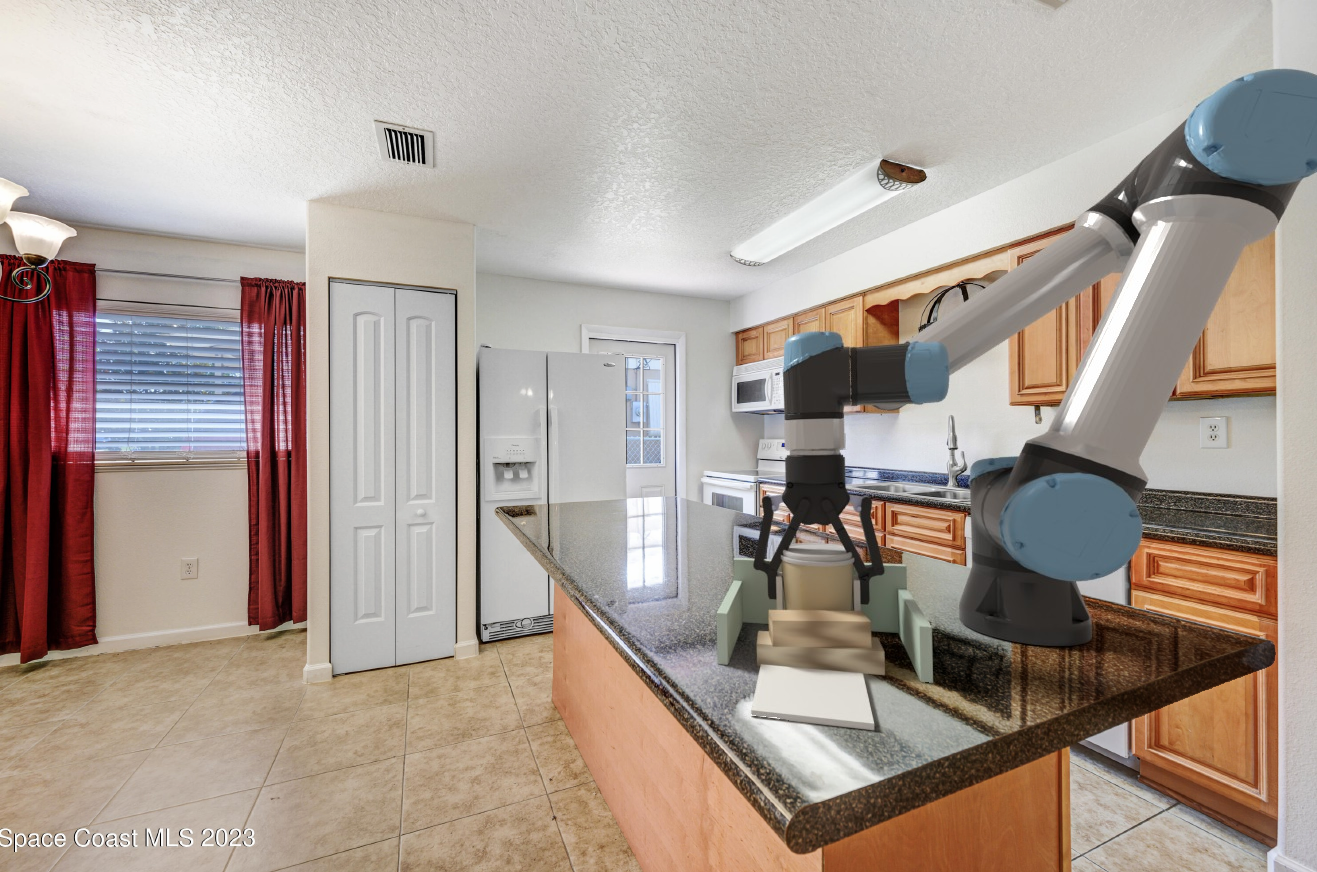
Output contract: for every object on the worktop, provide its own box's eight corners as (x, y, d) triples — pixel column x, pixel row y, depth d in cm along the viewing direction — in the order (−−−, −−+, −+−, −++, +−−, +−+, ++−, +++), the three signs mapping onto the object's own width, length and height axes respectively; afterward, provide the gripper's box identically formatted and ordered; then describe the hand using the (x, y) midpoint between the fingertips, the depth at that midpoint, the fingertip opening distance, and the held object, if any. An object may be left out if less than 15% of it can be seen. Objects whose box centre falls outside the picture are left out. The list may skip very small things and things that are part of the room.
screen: (906, 630, 75) (904, 564, 75) (933, 683, 59) (931, 598, 59) (735, 618, 81) (734, 557, 81) (717, 663, 65) (716, 587, 65)
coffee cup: (824, 625, 78) (823, 540, 78) (872, 648, 69) (870, 552, 69) (767, 634, 74) (766, 545, 74) (810, 660, 65) (808, 559, 66)
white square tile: (862, 678, 60) (862, 673, 60) (874, 730, 50) (874, 723, 50) (761, 669, 63) (760, 664, 63) (751, 716, 52) (751, 709, 53)
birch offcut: (878, 662, 66) (877, 637, 66) (884, 678, 61) (884, 651, 61) (758, 654, 69) (758, 630, 69) (757, 669, 64) (756, 643, 64)
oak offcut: (861, 635, 66) (861, 610, 66) (871, 647, 62) (870, 621, 62) (769, 634, 67) (768, 609, 67) (772, 646, 63) (772, 620, 63)
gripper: (899, 451, 73) (903, 622, 72) (735, 453, 78) (738, 612, 78) (909, 452, 65) (913, 643, 65) (727, 454, 71) (731, 629, 71)
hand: (818, 626), depth 72 cm, fingers closed on coffee cup, 9 cm apart
